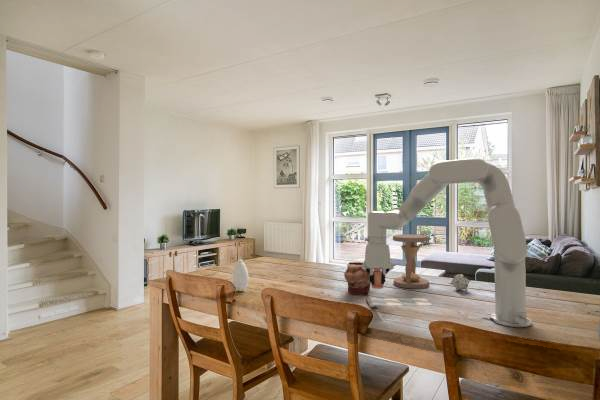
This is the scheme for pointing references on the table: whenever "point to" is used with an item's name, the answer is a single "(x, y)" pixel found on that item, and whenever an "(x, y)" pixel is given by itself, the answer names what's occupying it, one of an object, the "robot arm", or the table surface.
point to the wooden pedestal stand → (411, 262)
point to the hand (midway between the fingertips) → (377, 283)
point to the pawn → (377, 278)
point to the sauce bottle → (240, 275)
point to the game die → (460, 282)
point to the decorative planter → (357, 278)
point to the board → (397, 302)
